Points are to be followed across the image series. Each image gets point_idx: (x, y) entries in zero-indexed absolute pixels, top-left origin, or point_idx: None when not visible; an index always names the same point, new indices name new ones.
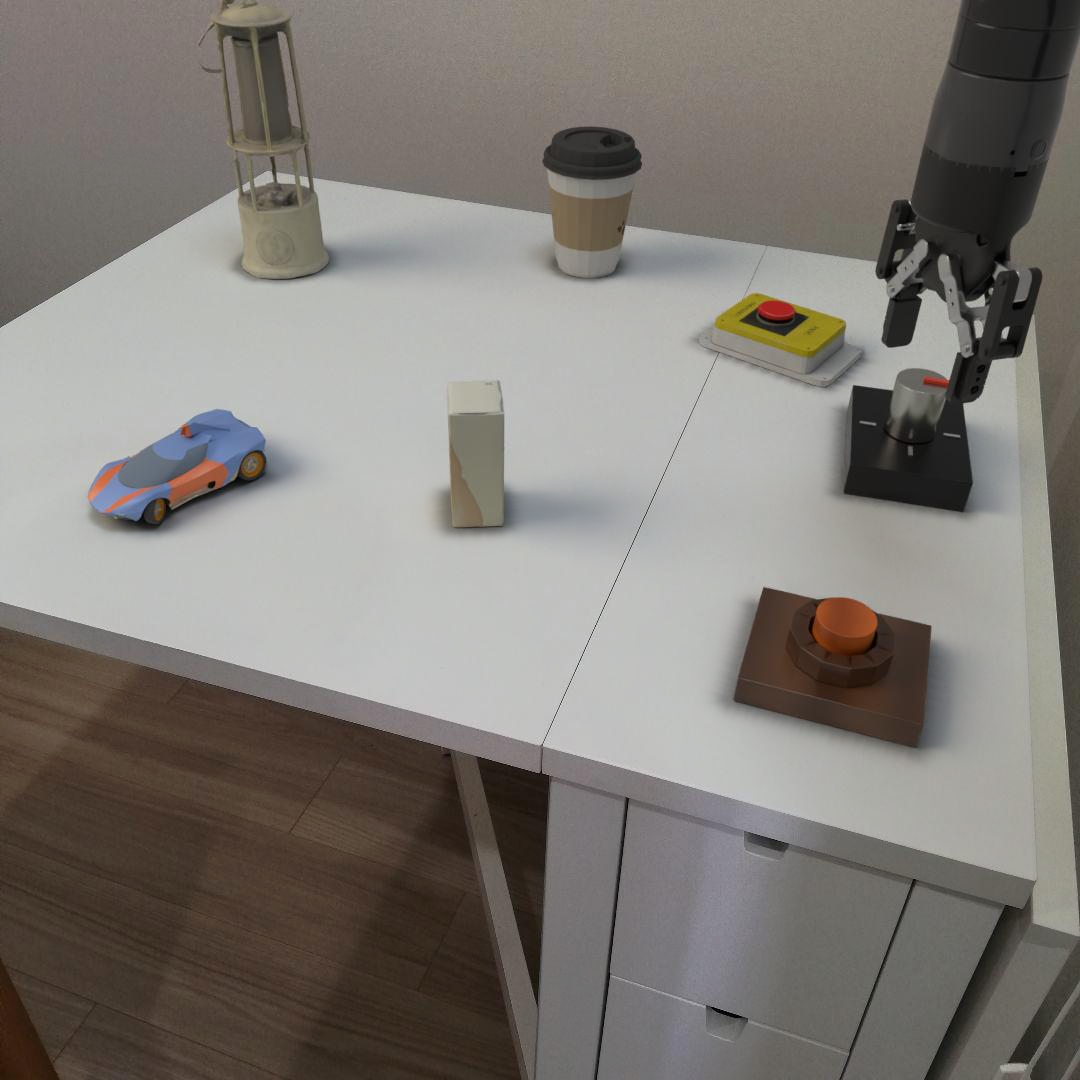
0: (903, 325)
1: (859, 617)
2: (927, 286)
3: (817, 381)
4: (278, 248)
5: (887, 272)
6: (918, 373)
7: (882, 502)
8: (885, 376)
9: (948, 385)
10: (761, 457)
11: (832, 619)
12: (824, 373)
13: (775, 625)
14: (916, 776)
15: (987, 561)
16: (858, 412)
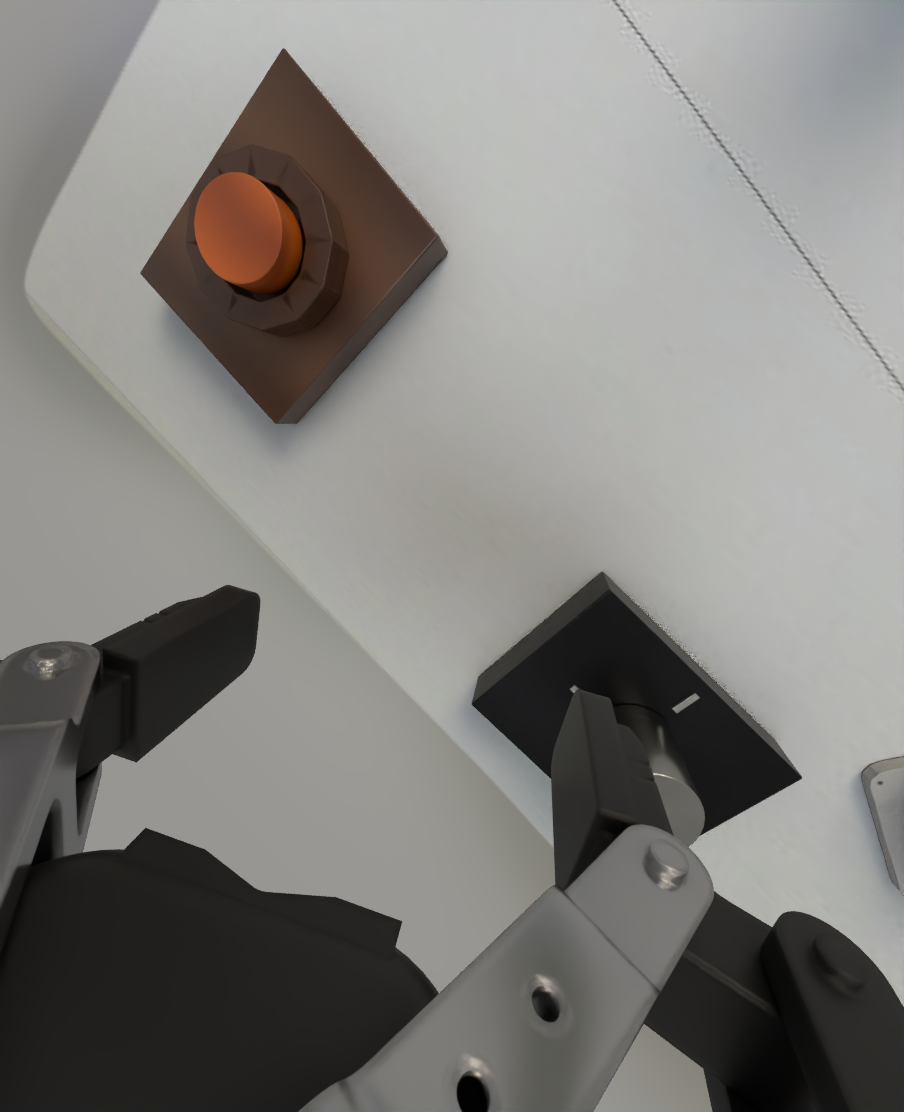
0: (567, 774)
1: (229, 248)
2: (347, 916)
3: (883, 768)
4: None
5: (777, 971)
6: (674, 829)
7: (552, 603)
8: (813, 864)
9: (227, 604)
10: (766, 526)
11: (238, 198)
12: (894, 795)
13: (355, 193)
14: (140, 254)
15: (388, 620)
16: (724, 717)
